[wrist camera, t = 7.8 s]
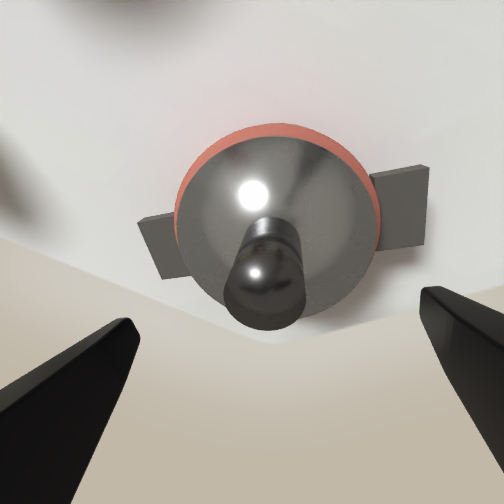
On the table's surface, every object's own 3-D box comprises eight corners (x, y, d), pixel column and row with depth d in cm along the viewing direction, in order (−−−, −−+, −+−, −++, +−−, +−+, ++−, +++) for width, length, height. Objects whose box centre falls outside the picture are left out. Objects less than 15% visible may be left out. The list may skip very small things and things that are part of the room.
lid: (368, 109, 12) (434, 100, 6) (373, 301, 16) (414, 389, 11) (155, 161, 14) (74, 185, 9) (212, 316, 19) (182, 394, 13)
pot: (398, 90, 15) (442, 78, 11) (394, 263, 20) (424, 303, 16) (147, 154, 19) (103, 163, 14) (197, 287, 24) (176, 325, 19)
